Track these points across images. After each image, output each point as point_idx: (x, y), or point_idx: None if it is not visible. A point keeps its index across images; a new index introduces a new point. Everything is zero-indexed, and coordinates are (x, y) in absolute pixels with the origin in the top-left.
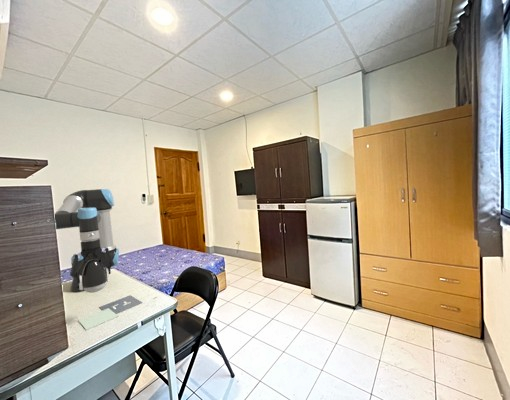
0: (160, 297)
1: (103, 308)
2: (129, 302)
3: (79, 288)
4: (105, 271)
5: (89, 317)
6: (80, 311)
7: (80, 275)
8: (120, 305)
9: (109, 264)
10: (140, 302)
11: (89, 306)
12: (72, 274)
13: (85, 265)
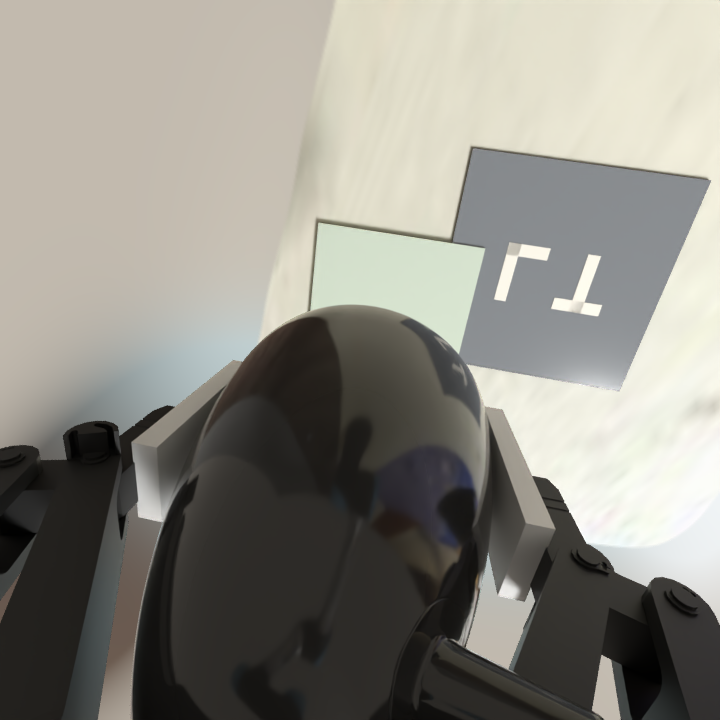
0: (715, 436)
1: (472, 210)
2: (595, 306)
3: (230, 366)
4: (502, 511)
5: (365, 256)
6: (381, 68)
7: (155, 484)
8: (543, 286)
9: (614, 631)
10: (616, 378)
11: (454, 37)
12: (6, 543)
13: (134, 651)
